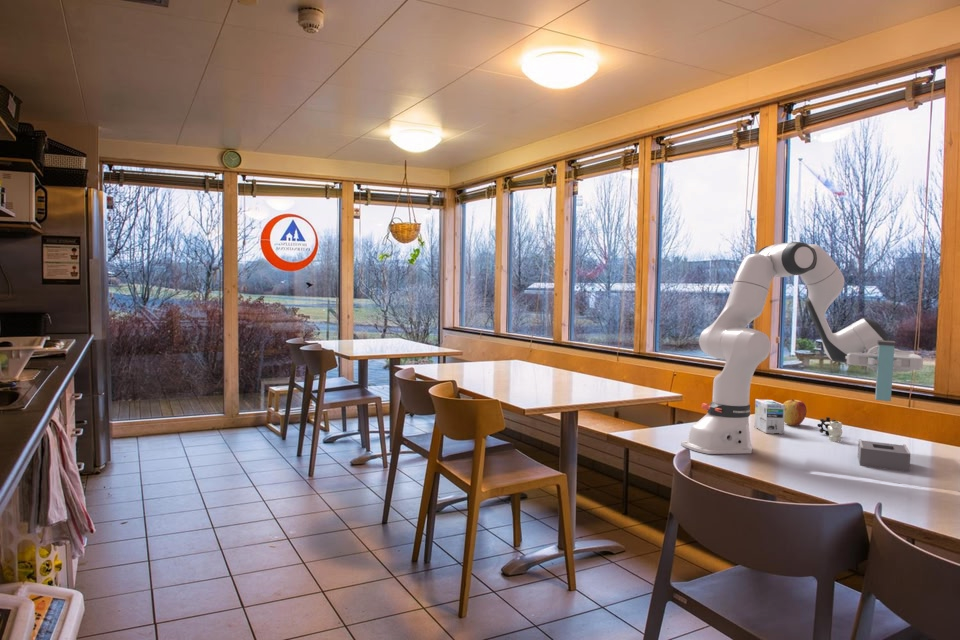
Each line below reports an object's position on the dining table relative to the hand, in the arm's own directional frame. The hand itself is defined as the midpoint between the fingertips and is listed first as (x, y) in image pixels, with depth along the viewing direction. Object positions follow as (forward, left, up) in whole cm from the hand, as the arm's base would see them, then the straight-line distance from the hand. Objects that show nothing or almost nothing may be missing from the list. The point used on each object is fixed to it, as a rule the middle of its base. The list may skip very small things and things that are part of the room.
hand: (885, 363), depth 195 cm
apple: (+16, +48, -30) cm, 59 cm away
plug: (+1, +1, -11) cm, 11 cm away
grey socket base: (-7, -6, -30) cm, 31 cm away
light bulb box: (-2, +42, -30) cm, 52 cm away
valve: (+11, +27, -30) cm, 42 cm away
